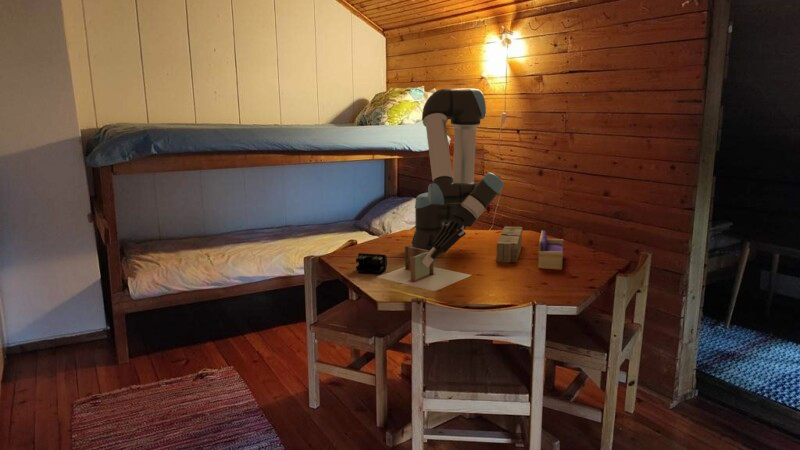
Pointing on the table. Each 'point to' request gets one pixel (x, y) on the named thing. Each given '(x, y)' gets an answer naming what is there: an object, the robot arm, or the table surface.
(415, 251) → the fence fixed
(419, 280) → the card
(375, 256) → the end cap
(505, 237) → the block tower
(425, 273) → the fence gate
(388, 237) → the table surface
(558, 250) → the toy sofa
